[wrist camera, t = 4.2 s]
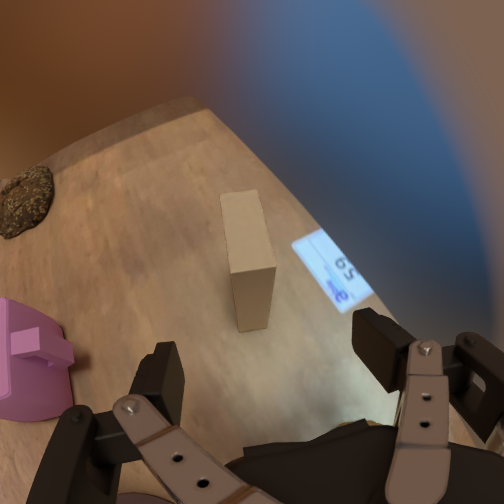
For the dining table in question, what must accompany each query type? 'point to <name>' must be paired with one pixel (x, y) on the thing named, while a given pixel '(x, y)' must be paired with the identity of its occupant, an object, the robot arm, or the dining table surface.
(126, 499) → the grey upright cylinder
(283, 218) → the dining table surface
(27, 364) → the teapot
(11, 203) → the bread roll
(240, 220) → the cream book
